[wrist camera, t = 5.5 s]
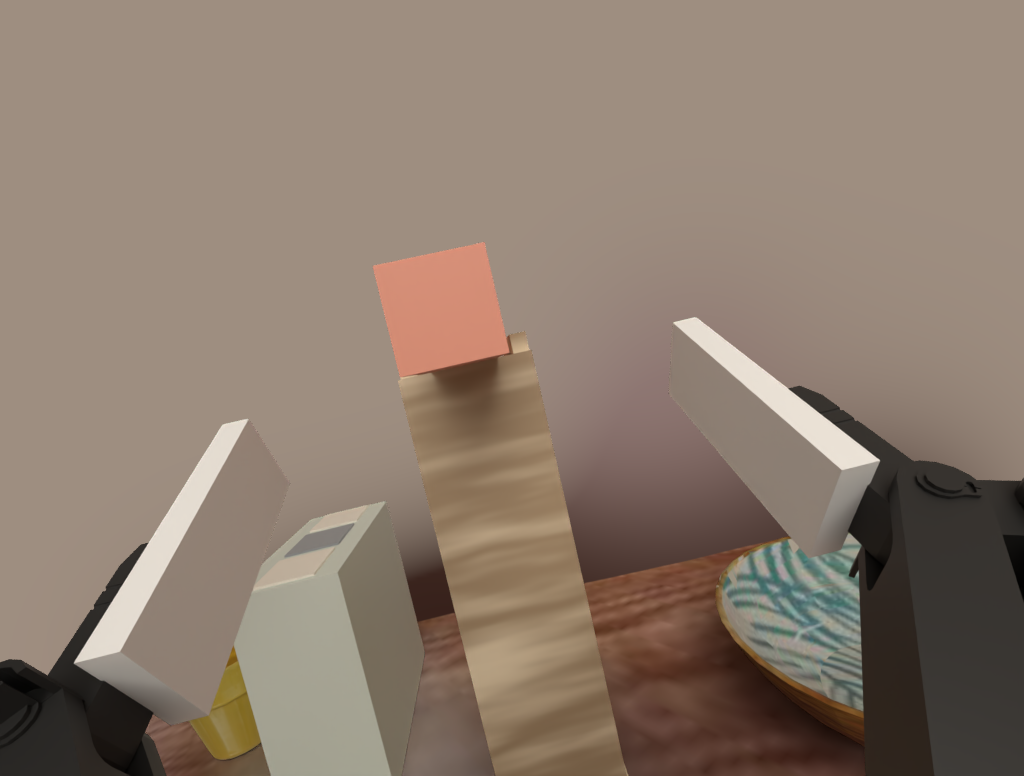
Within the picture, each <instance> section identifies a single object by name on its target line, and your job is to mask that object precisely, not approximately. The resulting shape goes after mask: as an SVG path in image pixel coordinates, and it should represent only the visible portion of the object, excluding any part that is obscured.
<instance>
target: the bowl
mask: <svg viewBox="0 0 1024 776" xmlns="http://www.w3.org/2000/svg"><path fill="white" fill-rule="evenodd" d="M861 546H862V545H861V544H860V543H859V542H858V541H857V540H856V539H855V538H854V537H853V536H852V535H851V534H850V533H848V535H847V537H846V540H845V542H844V544H843V546H842V549H841V550H839V551H835V552H831V553H827V554H824V555H820V556H816V557H812V558H808V557H807V556H806V555H805V554H804V552H803V551H802V550H801V549H800V548H799V547H798V545H797V544H796V543H795V542H794V541H793V539H792V538H791V537H790V536H789V537H784V538H780V539H777V540H774V541H770V542H767V543H764V544H761V545H759V546H757V547H755V548H753V549H751V550H749V551H746V552H745V553H743V554H742V555H741V556H739V557H738V558H736V559H735V560H733V561H732V562H731V563H730V564H729V565H728V567H727V568H726V569H725V570H724V571H723V572H722V574H721V576H720V578H719V581H718V583H717V586H716V606H717V609H718V612H719V615H720V618H721V621H722V623H723V624H724V626H725V627H726V629H727V630H728V632H729V633H730V635H731V636H732V637H733V639H734V640H735V642H736V643H737V644H738V646H739V647H740V648H741V650H742V651H743V652H744V654H745V655H746V656H747V657H748V658H749V660H750V661H751V662H752V663H753V664H754V665H755V666H756V668H757V669H758V670H759V671H760V672H761V673H762V674H763V675H764V676H765V677H766V678H767V679H768V680H769V681H770V682H771V683H772V684H773V685H774V686H775V687H776V688H777V689H778V690H779V691H781V692H782V693H783V694H784V695H785V696H787V697H788V698H789V699H790V700H791V701H793V702H794V703H795V704H797V705H798V706H799V707H801V708H802V709H803V710H805V711H806V712H808V713H809V714H810V715H812V716H813V717H814V718H816V719H817V720H819V721H820V722H821V723H823V724H825V725H827V726H828V727H830V728H832V729H834V730H836V731H837V732H839V733H841V734H843V735H845V736H846V737H848V738H850V739H852V740H854V741H855V742H857V743H859V744H861V745H863V746H864V747H865V742H864V713H863V684H862V655H861V626H860V597H859V570H858V572H857V574H856V576H855V578H852V577H849V576H848V575H849V572H850V569H851V567H852V564H853V562H854V560H855V558H856V556H857V554H858V552H859V550H860V548H861Z"/></svg>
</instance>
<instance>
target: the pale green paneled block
mask: <svg viewBox="0 0 1024 776" xmlns="http://www.w3.org/2000/svg"><path fill="white" fill-rule="evenodd" d="M234 648H235V651H236V655H237V658H238V662H239V665H240V669H241V672H242V676H243V679H244V683H245V686H246V690H247V693H248V697H249V701H250V704H251V708H252V711H253V715H254V718H255V722H256V725H257V729H258V732H259V736H260V739H261V743H262V746H263V750H264V753H265V757H266V760H267V764H268V767H269V771H270V774H271V776H402V771H403V766H404V761H405V756H406V750H407V745H408V740H409V735H410V729H411V724H412V719H413V714H414V708H415V703H416V698H417V693H418V687H419V682H420V677H421V672H422V667H423V661H424V656H425V651H424V647H423V643H422V639H421V635H420V631H419V627H418V623H417V619H416V615H415V612H414V607H413V604H412V599H411V596H410V591H409V588H408V584H407V580H406V576H405V572H404V568H403V564H402V560H401V556H400V552H399V548H398V544H397V540H396V536H395V532H394V528H393V524H392V521H391V517H390V512H389V509H388V505H387V501H384V502H381V503H376V504H372V505H365V506H361V507H357V508H353V509H349V510H345V511H341V512H337V513H332V514H328V515H326V516H323V517H319V518H315V519H311V520H310V521H309V522H308V523H307V524H306V525H305V526H303V527H302V528H301V529H300V530H299V531H298V532H297V533H296V534H295V535H294V536H293V537H291V538H290V539H289V540H288V541H287V542H286V543H285V544H284V545H283V546H282V547H280V548H279V549H278V550H277V551H276V552H275V553H274V554H273V555H272V556H271V557H270V558H268V559H267V560H266V561H265V562H264V563H263V564H262V565H261V568H260V571H259V573H258V576H257V579H256V582H255V585H254V588H253V591H252V593H251V596H250V599H249V602H248V605H247V608H246V611H245V613H244V616H243V619H242V622H241V625H240V628H239V631H238V633H237V636H236V639H235V642H234Z"/></svg>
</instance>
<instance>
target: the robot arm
mask: <svg viewBox="0 0 1024 776" xmlns="http://www.w3.org/2000/svg"><path fill="white" fill-rule="evenodd" d="M669 395H670V396H671V397H672V398H673V399H674V401H675V402H676V403H677V404H678V405H679V406H680V408H681V409H682V410H683V411H684V412H685V414H686V415H687V416H688V417H689V418H690V420H691V421H692V422H693V423H694V424H695V425H696V427H697V428H698V429H699V430H700V431H701V432H702V434H703V435H704V436H705V437H706V438H707V440H708V441H709V442H710V443H711V444H712V445H713V446H714V448H715V449H716V450H717V451H718V452H719V454H720V455H721V456H722V457H723V458H724V459H725V461H726V462H727V463H728V464H729V465H730V467H731V468H732V469H733V470H734V471H735V472H736V474H737V475H738V476H739V477H740V478H741V479H742V481H743V482H744V483H745V484H746V485H747V487H748V488H749V489H750V490H751V491H752V492H753V494H754V495H755V496H756V497H757V498H758V499H759V501H760V502H761V503H762V504H763V505H764V506H765V508H766V509H767V510H768V511H769V512H770V514H771V515H772V516H773V517H774V518H775V519H776V521H777V522H778V523H779V524H780V525H781V527H782V528H783V529H784V530H785V531H786V532H787V533H788V535H789V536H790V537H791V538H792V539H793V541H794V542H795V543H796V544H797V545H798V547H799V548H800V549H801V550H802V551H803V552H804V554H805V555H806V556H807V557H808V558H812V557H816V556H820V555H824V554H827V553H831V552H835V551H839V550H841V549H842V546H843V544H844V542H845V540H846V537H847V535H848V533H850V534H851V535H852V536H853V537H854V538H855V539H856V540H857V541H858V542H859V543H860V544H861V545H862V546H861V548H860V550H859V552H858V554H857V556H856V558H855V560H854V562H853V564H852V567H851V569H850V572H849V575H848V576H849V577H852V578H855V576H856V574H857V572H858V570H859V597H860V626H861V655H862V684H863V713H864V742H865V771H866V776H1024V478H1023V479H1022V481H994V480H992V481H991V480H976V479H974V478H973V477H972V476H970V475H969V474H967V473H965V472H963V471H960V470H958V469H956V468H954V467H951V466H947V465H944V464H940V463H937V462H929V461H912V460H911V459H910V458H908V457H907V456H906V455H904V454H903V453H901V452H900V451H899V450H897V449H896V448H895V447H893V446H892V445H890V444H889V443H888V442H886V441H885V440H883V439H882V438H881V437H879V436H878V435H877V434H875V433H874V432H873V431H871V430H870V429H868V428H867V427H866V426H864V425H863V424H862V423H860V422H859V421H855V420H854V418H853V417H852V416H851V415H849V414H848V413H846V412H845V411H844V410H840V408H839V407H838V406H837V405H835V404H834V403H833V402H831V401H830V400H828V399H827V398H826V397H824V396H823V395H821V394H819V393H816V392H814V391H811V390H809V389H806V388H804V387H802V386H797V387H793V388H789V389H788V388H786V387H785V386H784V385H782V384H781V383H780V382H779V381H777V380H776V379H775V378H773V377H772V376H771V375H770V374H768V373H767V372H766V371H765V370H763V369H762V368H761V367H759V366H758V365H757V364H756V363H754V362H753V361H751V360H750V359H749V358H748V357H746V356H745V355H744V354H742V353H741V352H740V351H739V350H737V349H736V348H735V347H734V346H732V345H731V344H730V343H728V342H727V341H726V340H725V339H723V338H722V337H721V336H720V335H718V334H717V333H716V332H714V331H713V330H712V329H711V328H709V327H708V326H707V325H705V324H704V323H703V322H702V321H700V320H699V319H698V318H696V317H695V318H690V319H686V320H682V321H677V322H673V326H672V343H671V361H670V379H669ZM289 485H290V482H289V481H288V479H287V478H286V476H285V475H284V473H283V472H282V470H281V468H280V467H279V465H278V464H277V462H276V460H275V459H274V457H273V456H272V454H271V453H270V451H269V449H268V448H267V447H266V445H265V443H264V442H263V440H262V439H261V437H260V435H259V434H258V432H257V431H256V429H255V428H254V426H253V424H252V423H251V421H250V420H249V419H245V420H241V421H236V422H232V423H227V424H224V425H222V426H221V428H220V430H219V431H218V433H217V434H216V436H215V438H214V439H213V441H212V443H211V444H210V446H209V447H208V449H207V450H206V452H205V454H204V455H203V457H202V459H201V460H200V462H199V463H198V465H197V466H196V468H195V470H194V471H193V473H192V474H191V476H190V478H189V479H188V481H187V483H186V484H185V486H184V488H183V489H182V491H181V492H180V494H179V495H178V497H177V498H176V500H175V502H174V503H173V505H172V507H171V508H170V510H169V511H168V513H167V515H166V516H165V518H164V519H163V521H162V523H161V524H160V526H159V527H158V529H157V531H156V532H155V534H154V535H153V537H152V539H151V540H150V542H149V543H145V544H142V545H140V546H139V547H138V548H137V549H136V550H135V551H134V552H133V553H132V554H131V555H130V556H129V557H128V558H127V559H126V560H125V561H124V562H123V563H122V564H121V565H120V566H119V568H118V570H117V571H116V572H115V574H114V575H113V577H112V578H111V580H110V581H109V583H108V584H107V586H106V591H104V592H102V594H101V595H100V597H99V598H98V600H97V601H96V603H95V604H94V609H93V610H90V612H89V613H88V615H87V617H86V618H85V620H84V621H83V623H82V624H81V626H80V627H79V629H78V630H77V632H76V633H75V635H74V636H73V638H72V639H71V641H70V642H69V644H68V646H67V647H66V648H65V650H64V651H63V653H62V655H61V656H60V658H59V659H58V661H57V662H56V664H55V665H54V667H53V668H52V670H51V671H50V673H49V674H48V676H47V675H46V674H44V673H42V672H41V671H39V670H37V669H35V668H34V667H32V666H30V665H29V664H27V663H25V662H24V661H22V660H12V659H9V660H6V661H3V662H0V776H166V773H165V771H164V768H163V765H162V762H161V759H160V757H159V754H158V751H157V748H156V746H155V743H154V741H153V740H152V739H151V737H150V736H149V735H148V734H146V733H145V731H146V728H147V726H148V724H149V722H150V719H151V717H152V715H153V714H154V715H155V716H157V717H158V718H160V719H162V720H163V721H165V722H166V723H168V724H169V725H174V724H178V723H182V722H186V721H190V720H193V719H197V718H201V717H205V716H209V713H210V711H211V708H212V705H213V702H214V699H215V696H216V693H217V691H218V688H219V685H220V682H221V679H222V676H223V673H224V671H225V668H226V665H227V662H228V659H229V656H230V653H231V651H232V648H233V645H234V642H235V639H236V636H237V633H238V631H239V628H240V625H241V622H242V619H243V616H244V613H245V611H246V608H247V605H248V602H249V599H250V596H251V593H252V591H253V588H254V585H255V582H256V579H257V576H258V573H259V571H260V568H261V565H262V562H263V559H264V556H265V553H266V551H267V548H268V545H269V542H270V539H271V536H272V533H273V531H274V528H275V525H276V522H277V519H278V516H279V513H280V510H281V508H282V504H283V502H284V499H285V496H286V493H287V490H288V487H289Z"/></svg>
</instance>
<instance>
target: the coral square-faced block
mask: <svg viewBox="0 0 1024 776" xmlns="http://www.w3.org/2000/svg"><path fill="white" fill-rule="evenodd" d="M373 269H374V273H375V277H376V281H377V285H378V290H379V294H380V298H381V301H382V306H383V310H384V314H385V318H386V322H387V326H388V330H389V334H390V338H391V342H392V346H393V350H394V354H395V359H396V362H397V367H398V371H399V375H400V377H406V376H413V375H419V374H426V373H432V372H436V371H441V370H445V369H449V368H454V367H458V366H463V365H467V364H471V363H476V362H480V361H484V360H489V359H493V358H498V357H500V356H503V355H505V354H507V353H510V352H509V348H508V343H507V339H506V335H505V330H504V326H503V321H502V317H501V313H500V308H499V304H498V299H497V295H496V291H495V286H494V282H493V278H492V273H491V269H490V265H489V260H488V256H487V251H486V247H485V243H484V242H483V243H478V244H474V245H469V246H464V247H460V248H455V249H450V250H445V251H441V252H436V253H431V254H426V255H422V256H417V257H412V258H408V259H403V260H399V261H393V262H389V263H384V264H379V265H375V266H373Z"/></svg>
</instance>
